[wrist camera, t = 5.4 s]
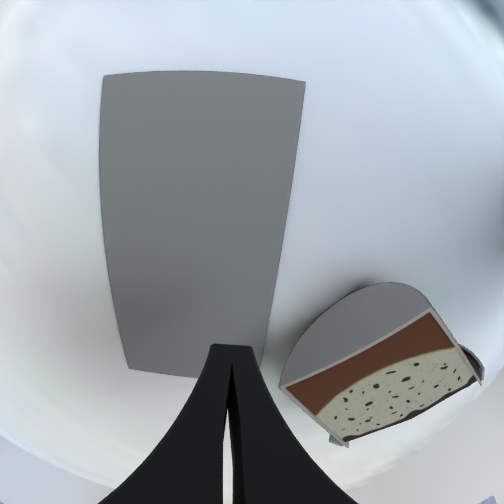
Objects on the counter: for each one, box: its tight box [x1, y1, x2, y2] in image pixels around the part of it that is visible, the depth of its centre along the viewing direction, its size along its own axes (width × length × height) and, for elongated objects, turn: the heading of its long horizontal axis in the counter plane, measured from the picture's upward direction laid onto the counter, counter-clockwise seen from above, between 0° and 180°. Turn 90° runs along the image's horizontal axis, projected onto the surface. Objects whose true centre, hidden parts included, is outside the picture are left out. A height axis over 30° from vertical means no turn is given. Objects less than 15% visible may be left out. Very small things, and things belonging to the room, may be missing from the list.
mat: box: [99, 71, 306, 378], centre depth 16 cm, size 10×20×1 cm, turn 174°
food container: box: [279, 282, 485, 448], centre depth 17 cm, size 12×6×10 cm
